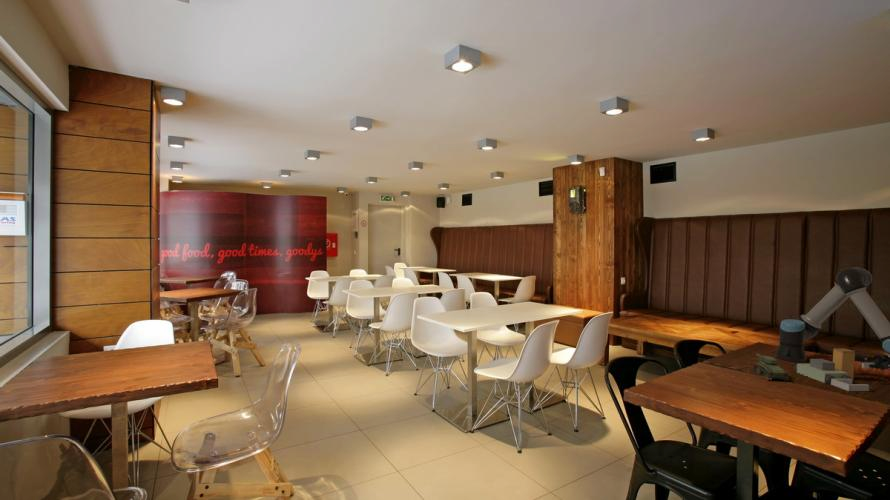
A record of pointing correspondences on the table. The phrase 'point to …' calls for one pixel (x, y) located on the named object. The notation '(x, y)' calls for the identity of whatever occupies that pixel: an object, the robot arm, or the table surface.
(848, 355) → the tan wooden block
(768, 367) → the toy
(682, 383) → the table surface
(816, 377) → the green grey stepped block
